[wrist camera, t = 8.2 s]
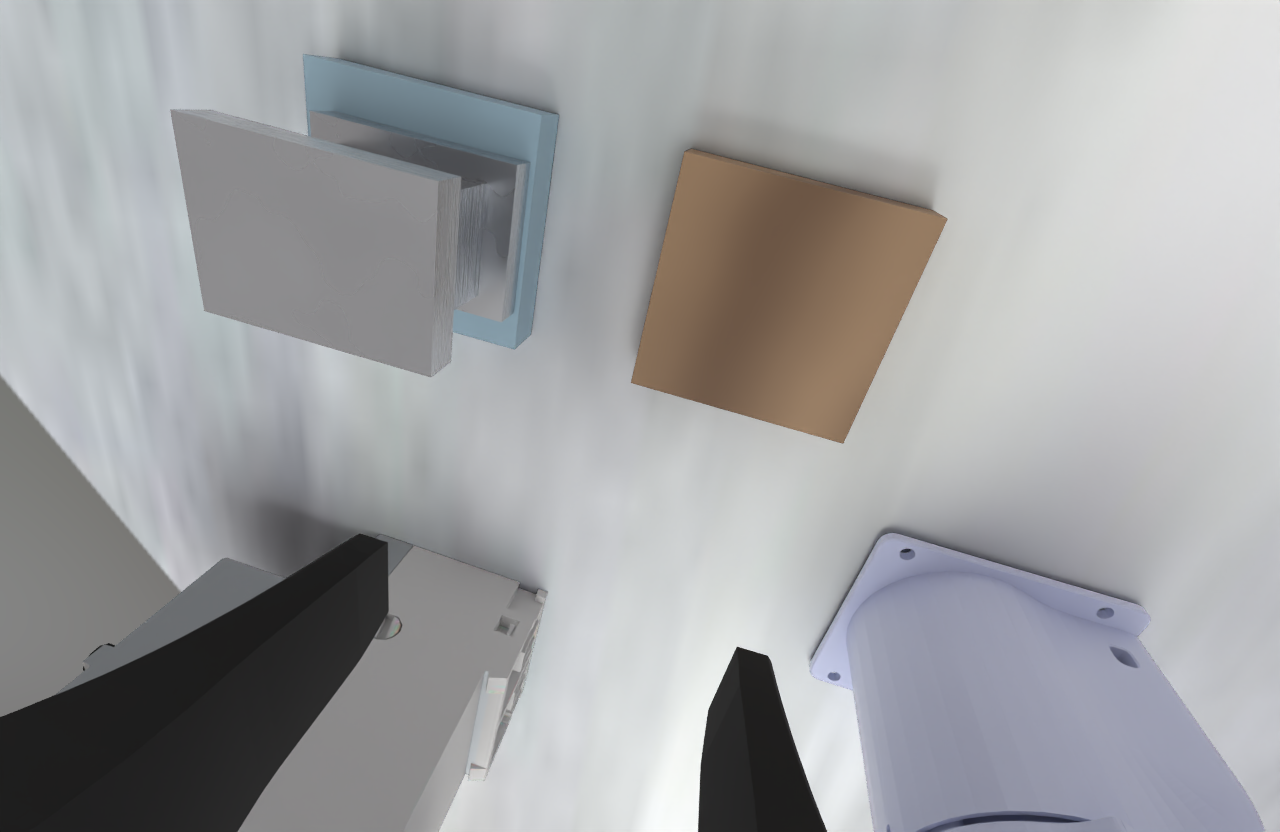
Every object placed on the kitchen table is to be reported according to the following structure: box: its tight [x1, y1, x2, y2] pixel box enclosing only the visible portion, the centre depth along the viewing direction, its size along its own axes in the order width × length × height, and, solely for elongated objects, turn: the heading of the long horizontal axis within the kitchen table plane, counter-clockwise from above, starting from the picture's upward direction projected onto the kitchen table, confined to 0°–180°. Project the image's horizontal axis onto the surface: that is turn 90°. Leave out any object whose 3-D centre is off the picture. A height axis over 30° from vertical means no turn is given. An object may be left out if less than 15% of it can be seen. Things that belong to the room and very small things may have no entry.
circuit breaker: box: [57, 535, 547, 832], centre depth 22 cm, size 8×14×15 cm, turn 75°
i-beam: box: [170, 110, 531, 377], centre depth 15 cm, size 4×6×5 cm
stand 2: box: [631, 149, 947, 443], centre depth 17 cm, size 7×7×2 cm
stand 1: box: [303, 54, 559, 350], centre depth 18 cm, size 7×7×2 cm
